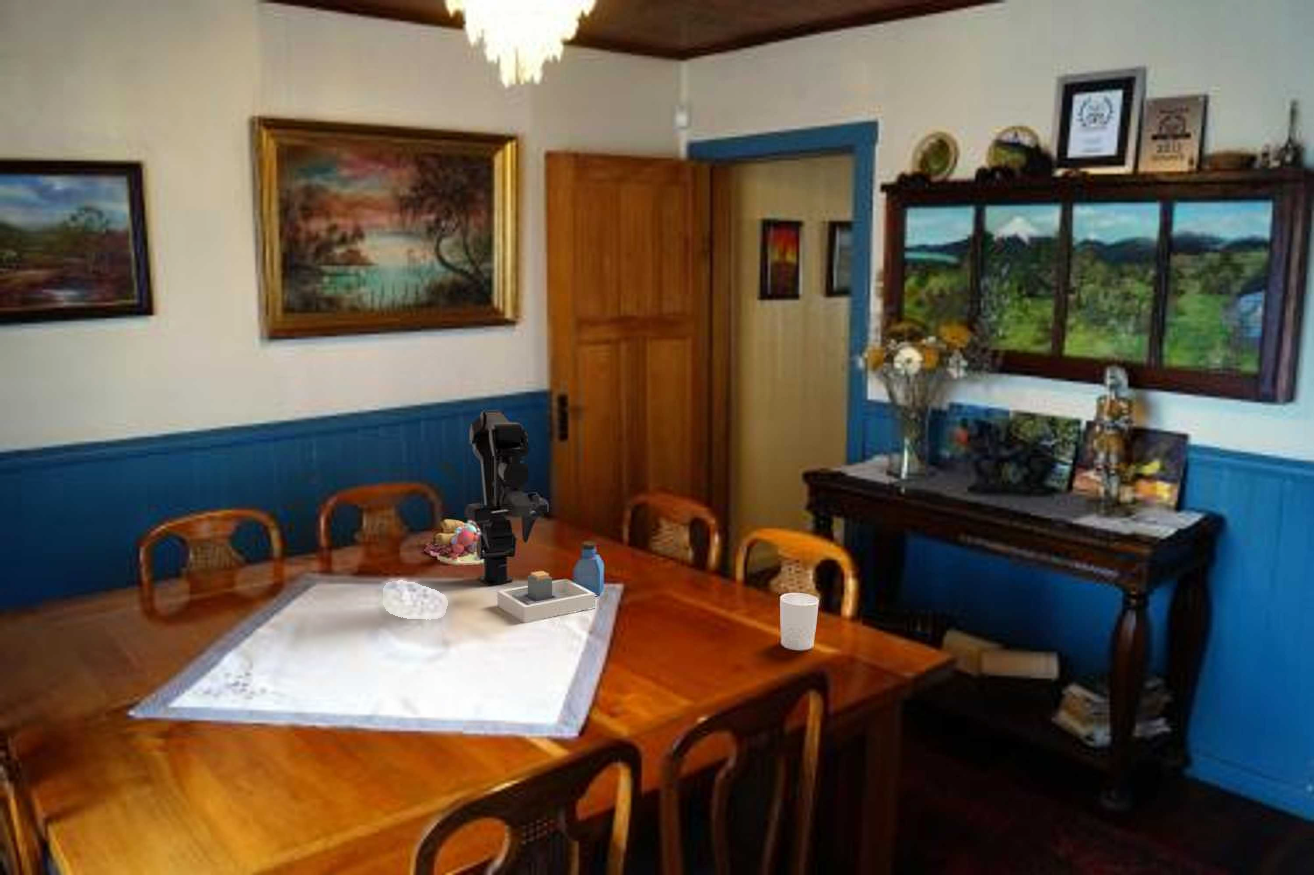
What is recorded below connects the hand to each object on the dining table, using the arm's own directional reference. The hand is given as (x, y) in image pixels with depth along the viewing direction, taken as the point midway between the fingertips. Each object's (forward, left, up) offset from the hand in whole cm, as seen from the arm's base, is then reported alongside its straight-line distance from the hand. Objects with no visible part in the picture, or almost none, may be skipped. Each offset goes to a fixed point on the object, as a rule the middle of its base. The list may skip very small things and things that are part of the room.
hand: (507, 544), depth 241 cm
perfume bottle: (+5, +19, -13) cm, 24 cm away
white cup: (+57, +38, -13) cm, 70 cm away
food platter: (-41, +11, -14) cm, 44 cm away
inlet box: (+9, +5, -13) cm, 17 cm away
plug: (+10, +3, -12) cm, 16 cm away
